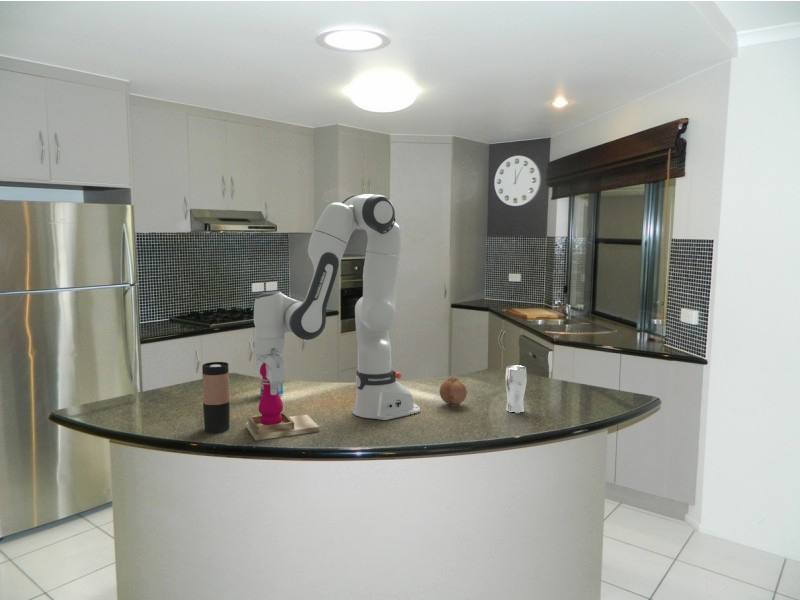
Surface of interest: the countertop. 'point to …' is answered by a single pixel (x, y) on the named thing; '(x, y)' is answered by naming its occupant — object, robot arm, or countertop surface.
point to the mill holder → (281, 426)
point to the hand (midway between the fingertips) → (270, 391)
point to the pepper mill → (269, 402)
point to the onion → (453, 391)
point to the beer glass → (515, 387)
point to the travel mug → (216, 396)
